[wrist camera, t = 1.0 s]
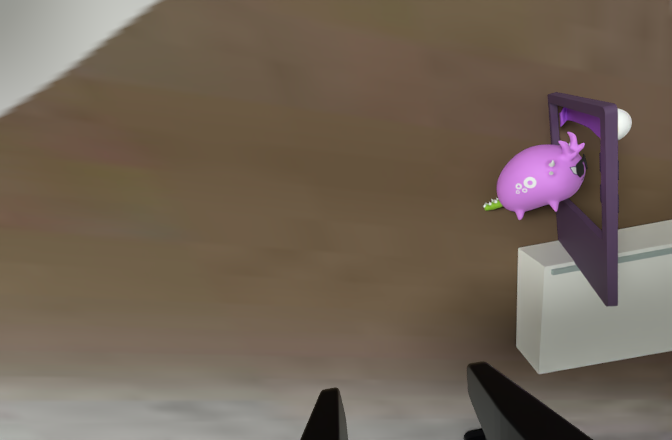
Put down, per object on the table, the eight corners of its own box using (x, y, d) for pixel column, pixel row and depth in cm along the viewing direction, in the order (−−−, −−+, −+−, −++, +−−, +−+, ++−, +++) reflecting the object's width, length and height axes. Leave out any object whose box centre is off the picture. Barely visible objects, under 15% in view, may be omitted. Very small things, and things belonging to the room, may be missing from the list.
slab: (654, 321, 23) (696, 348, 20) (516, 346, 23) (540, 376, 20) (675, 219, 20) (727, 235, 17) (518, 247, 20) (546, 268, 17)
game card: (639, 307, 14) (644, 97, 11) (506, 314, 16) (480, 138, 13) (578, 236, 20) (571, 87, 17) (487, 247, 22) (466, 116, 19)
